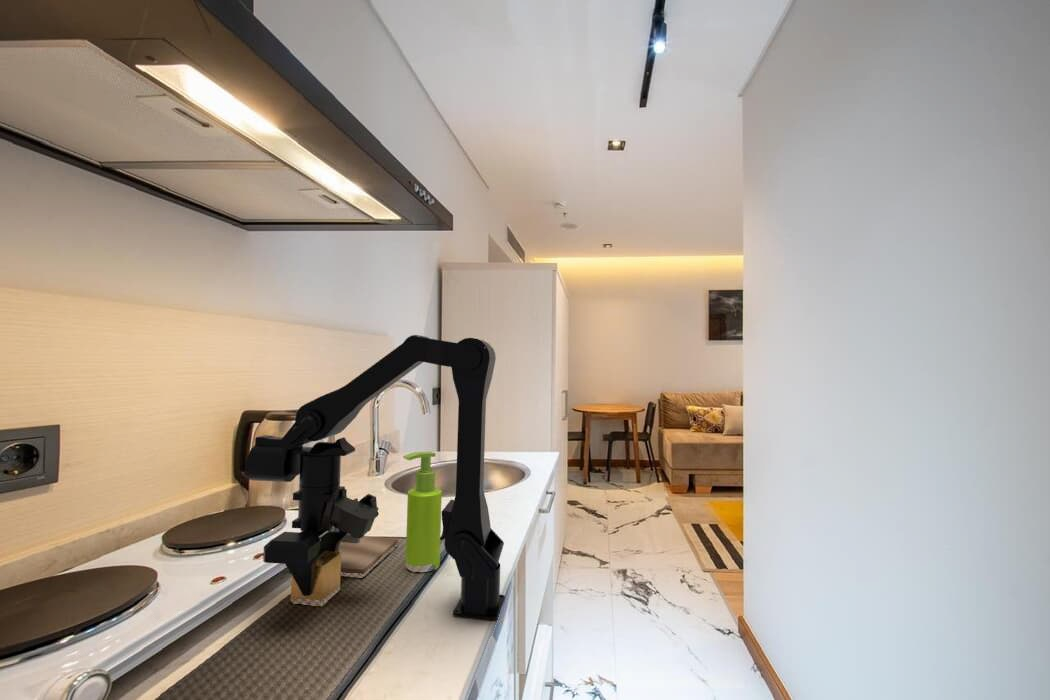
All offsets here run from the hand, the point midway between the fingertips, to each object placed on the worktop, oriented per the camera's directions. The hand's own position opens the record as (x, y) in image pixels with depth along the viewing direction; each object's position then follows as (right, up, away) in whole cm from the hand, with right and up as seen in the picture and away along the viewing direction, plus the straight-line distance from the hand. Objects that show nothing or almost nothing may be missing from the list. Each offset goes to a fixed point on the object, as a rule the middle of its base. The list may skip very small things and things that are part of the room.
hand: (316, 586), depth 73 cm
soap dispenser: (+13, -2, +12) cm, 18 cm away
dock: (-1, -2, +14) cm, 14 cm away
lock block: (0, -2, 0) cm, 2 cm away
